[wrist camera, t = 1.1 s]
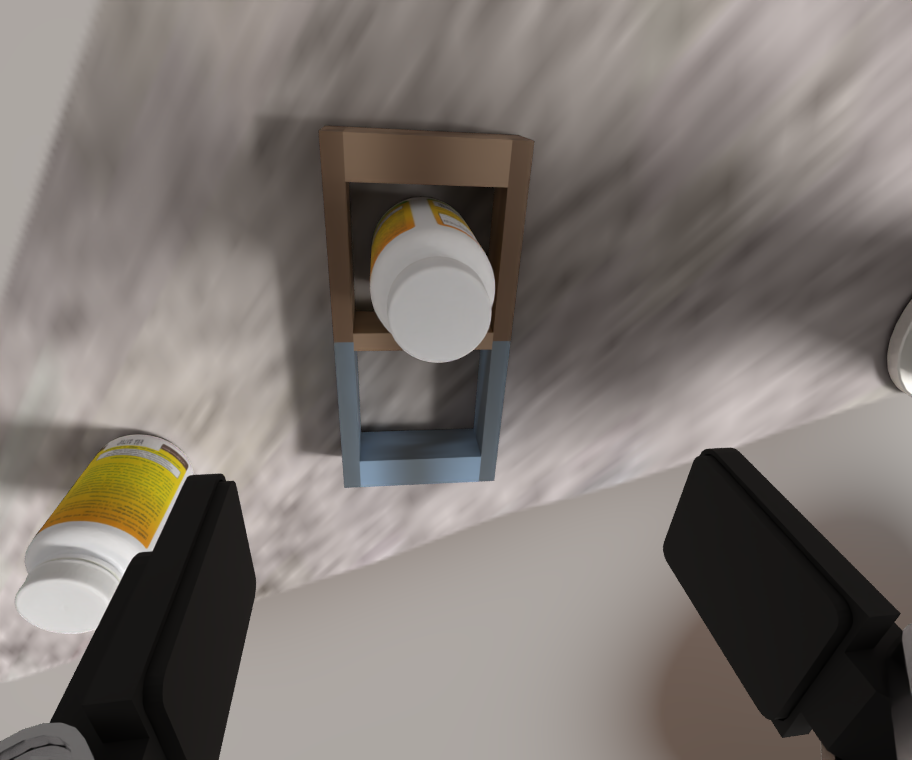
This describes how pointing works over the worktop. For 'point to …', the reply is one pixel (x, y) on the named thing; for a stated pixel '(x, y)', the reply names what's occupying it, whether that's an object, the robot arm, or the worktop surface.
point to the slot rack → (386, 451)
